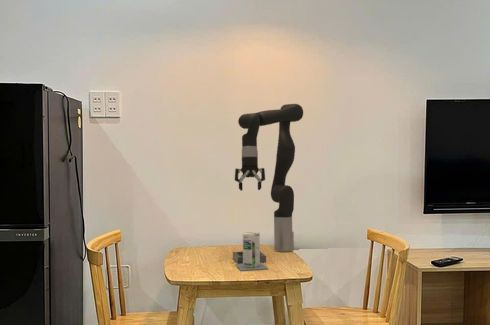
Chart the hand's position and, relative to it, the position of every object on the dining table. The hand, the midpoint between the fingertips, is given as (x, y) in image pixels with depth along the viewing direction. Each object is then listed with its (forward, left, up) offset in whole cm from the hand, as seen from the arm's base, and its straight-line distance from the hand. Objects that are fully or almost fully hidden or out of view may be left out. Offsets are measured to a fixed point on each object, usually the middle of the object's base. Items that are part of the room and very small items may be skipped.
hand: (250, 190), depth 231 cm
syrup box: (+4, +19, -32) cm, 37 cm away
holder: (+2, +5, -32) cm, 33 cm away
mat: (+4, +19, -32) cm, 38 cm away
